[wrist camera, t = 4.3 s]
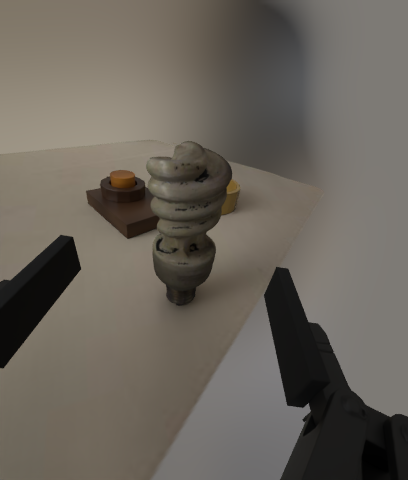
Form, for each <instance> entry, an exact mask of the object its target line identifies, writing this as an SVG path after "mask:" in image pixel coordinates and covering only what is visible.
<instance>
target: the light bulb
mask: <svg viewBox="0 0 408 480" xmlns="http://www.w3.org/2000/svg"><path fill="white" fill-rule="evenodd" d="M146 167H147V171H148V173H149V174H150V175H151V176H152V177H151V178H150V180H149V182H148V189H149V191H150V193H151V194H152V195H153V196H155V197H154V198H153V199H152V201H151V210H152V211H153V213H154V214H156V215H157V216H158V217H159V218H160V220H159V221H158V223H157V229H158V231H159V232H160V233H161V234H159V235H158V236H157V237H156V238H155V240H154V242H153V262H154V269H155V272H156V275H157V276H158V278H159V279H160V280H161V281H162V282H163V283H164V284H166V287H167V293H166V296H167V298H168V300H169V301H170V302H172V303H176V305H178V306H180V305H184V304H187V303H189V302H191V301H192V300H193V299H194V297H195V291H196V287H197V286H199V285H201V284H202V283H203V282H205V281H206V279H207V278H208V277H209V274H210V272H211V269H212V265H213V262H214V258H215V253H216V247H215V244H214V242H213V241H212V239H211V238H210V237H208V236H207V235H206V232H207V231H208V230H210V229H212V228H213V227H214V226H215V225H216V224H217V223H218V221H219V219H220V217H221V213H222V205H223V204H224V202H225V200H226V197H227V188H226V187H227V186H228V185H229V183H230V181H231V179H232V170H231V167H230V165H229V163H228V162H227V161H226V160H225V159H224V158H223V157H221V156H220V155H218V154H217V153H215V152H213V151H211V150H208V149H206V148H203V147H202V146H201V145H199V144H197V143H195V142H192V141H187V142H183V143H181V144H180V145H178V146H176V147H175V151H174V155H173V157H172V158H170V157H152V158H150V159H149V160H148V162H147V164H146Z"/></svg>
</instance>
